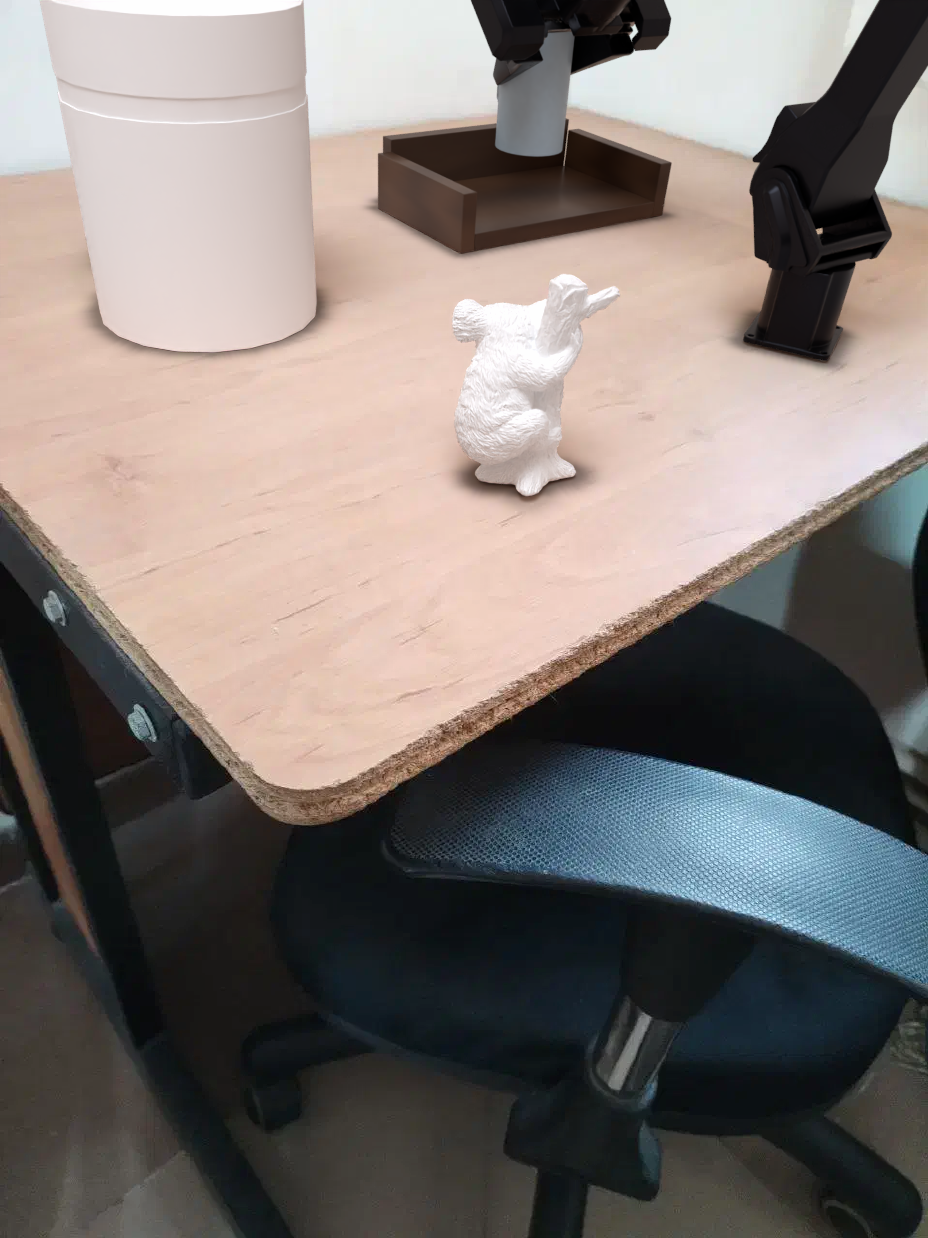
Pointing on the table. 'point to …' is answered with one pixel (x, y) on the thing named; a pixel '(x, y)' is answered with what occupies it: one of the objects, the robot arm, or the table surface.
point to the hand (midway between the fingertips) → (525, 77)
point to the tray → (514, 186)
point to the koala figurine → (521, 381)
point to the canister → (190, 165)
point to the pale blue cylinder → (537, 102)
